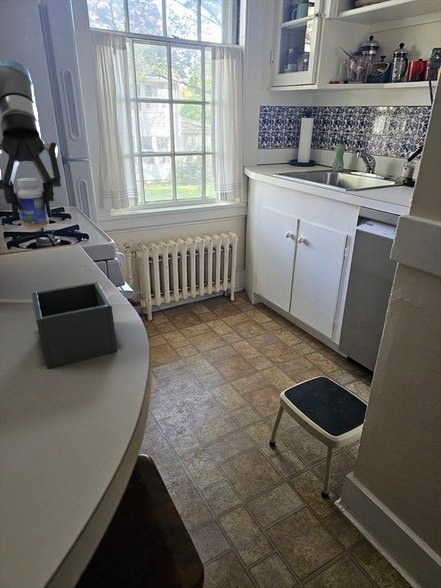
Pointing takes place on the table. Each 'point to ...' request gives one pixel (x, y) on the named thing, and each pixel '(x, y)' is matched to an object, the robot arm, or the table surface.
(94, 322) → the trash bin
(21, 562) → the table surface
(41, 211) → the pill bottle
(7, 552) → the table surface
